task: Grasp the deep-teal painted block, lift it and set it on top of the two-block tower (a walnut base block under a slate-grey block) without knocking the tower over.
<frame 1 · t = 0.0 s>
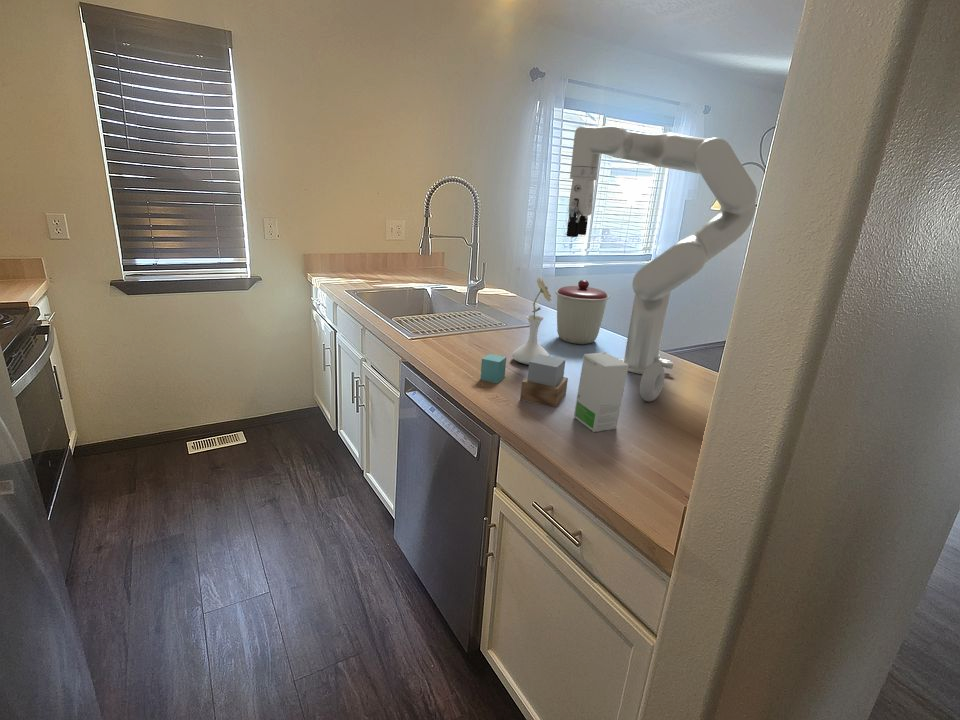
hand: (576, 235, 153), 37 cm above the worktop, tool pointing down, fingers open, 9 cm apart
flower in vase: (530, 361, 156), on the worktop
skincare box: (595, 424, 117), on the worktop
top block: (545, 379, 128), point 5 cm above the worktop, touching base block
canister: (576, 340, 180), on the worktop
donut: (648, 401, 132), on the worktop
base block: (543, 398, 130), on the worktop, touching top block
teal block: (492, 378, 140), on the worktop
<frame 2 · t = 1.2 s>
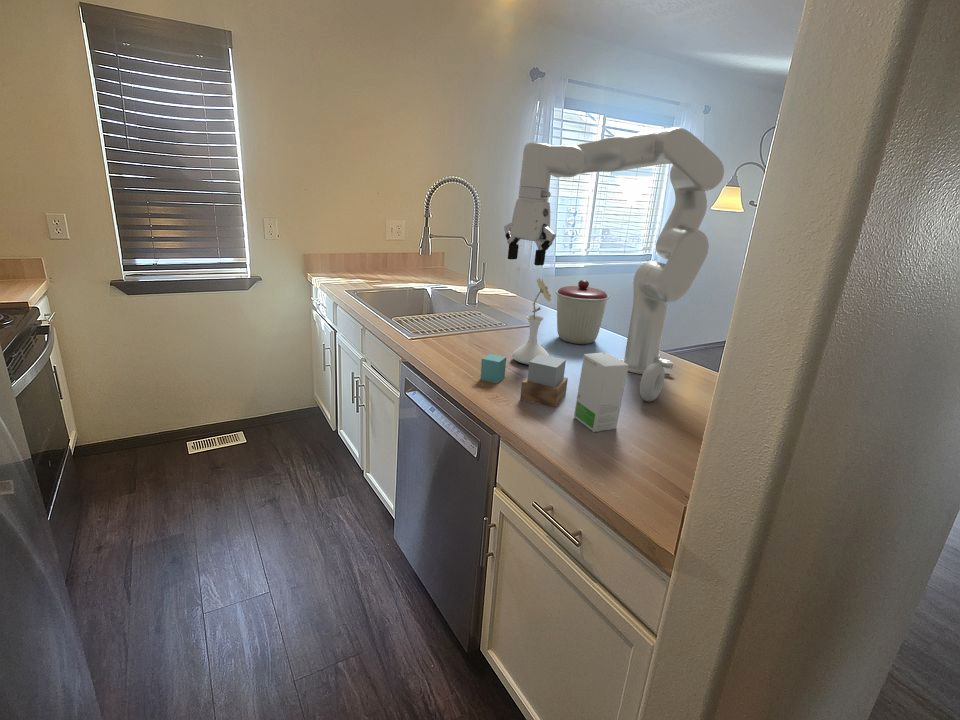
hand: (525, 262, 138), 31 cm above the worktop, tool pointing down, fingers open, 9 cm apart
nothing on the worktop moved.
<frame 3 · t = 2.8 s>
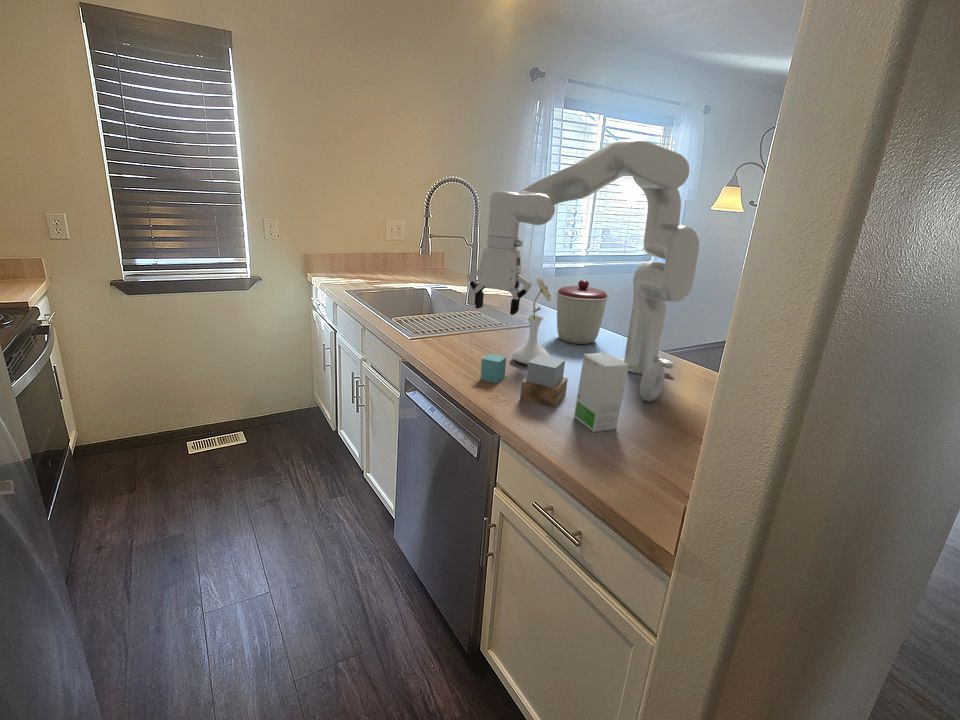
hand: (496, 310, 134), 19 cm above the worktop, tool pointing down, fingers open, 9 cm apart
nothing on the worktop moved.
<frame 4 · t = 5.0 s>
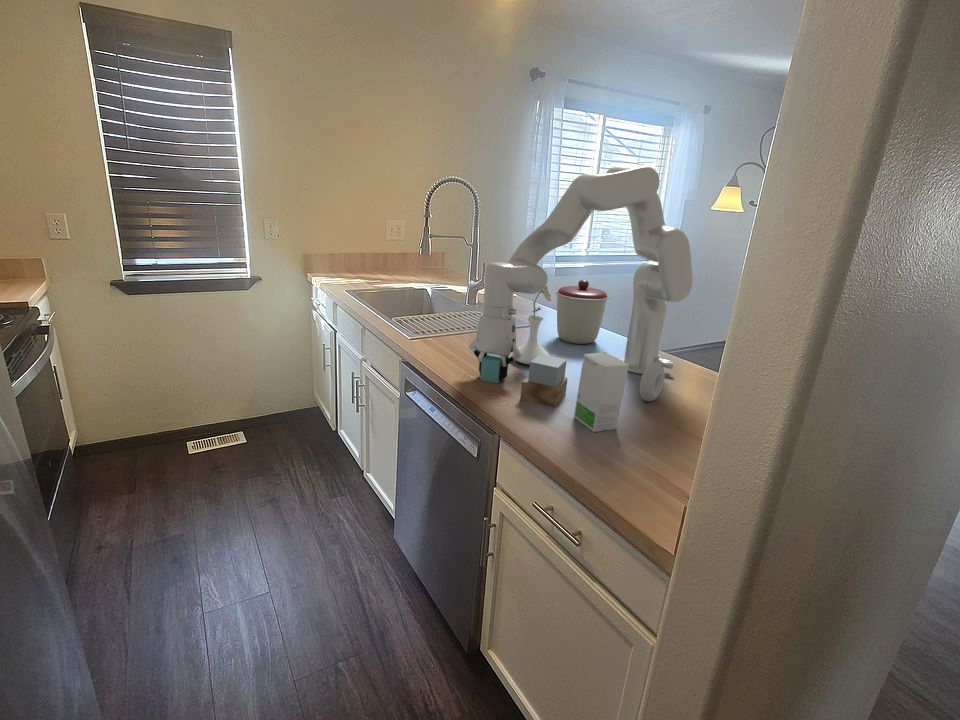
hand: (492, 376, 140), 1 cm above the worktop, tool pointing down, fingers closed on teal block, 5 cm apart
teal block: (492, 378, 140), on the worktop, touching gripper
everything else where it was.
when the fingers open (12 cm above the worktop, at t = 11.8 s): teal block drops 1 cm, resting on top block.
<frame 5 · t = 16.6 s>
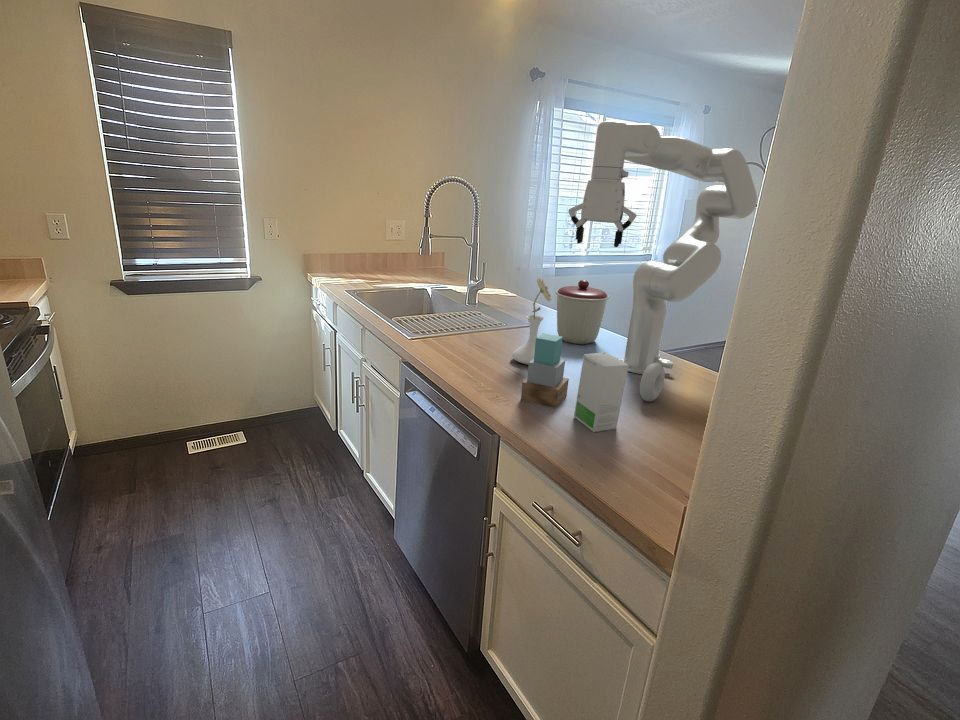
hand: (597, 244, 135), 36 cm above the worktop, tool pointing down, fingers open, 9 cm apart
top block: (545, 380, 128), point 5 cm above the worktop, touching base block, teal block
teal block: (547, 360, 126), point 10 cm above the worktop, touching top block
everything else where it was.
at the end: teal block 0.1 cm from the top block (horizontally); teal block point 9.7 cm above the worktop; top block point 4.7 cm above the worktop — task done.
